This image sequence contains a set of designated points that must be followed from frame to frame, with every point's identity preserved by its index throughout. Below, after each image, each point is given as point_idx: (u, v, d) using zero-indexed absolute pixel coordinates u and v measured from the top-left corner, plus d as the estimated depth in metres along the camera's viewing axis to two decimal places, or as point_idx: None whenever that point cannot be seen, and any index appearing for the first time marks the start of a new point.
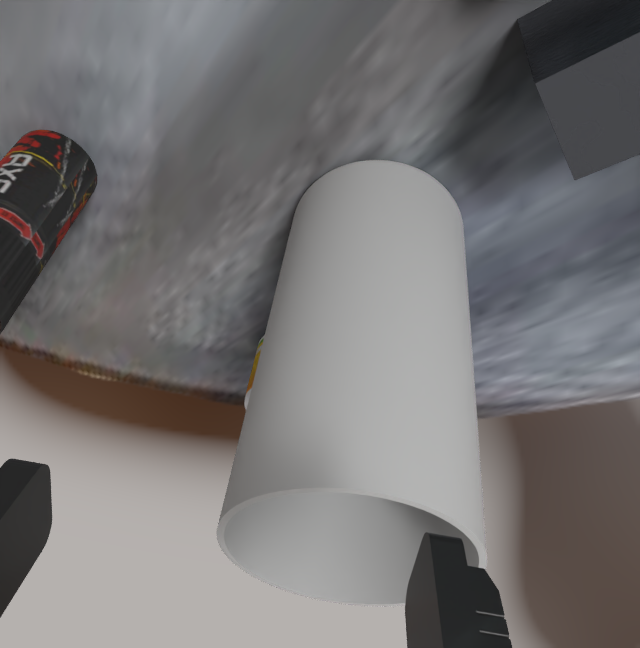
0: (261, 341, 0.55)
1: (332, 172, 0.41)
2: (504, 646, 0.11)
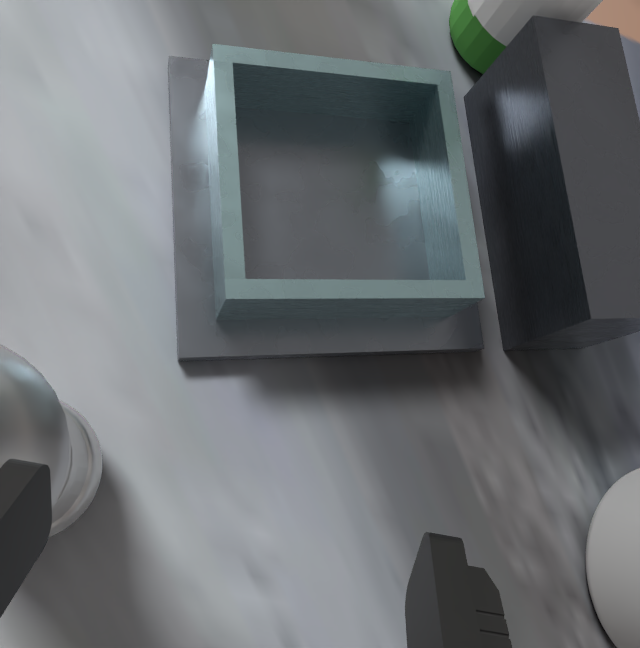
0: None
1: (592, 582, 0.35)
2: (504, 646, 0.11)
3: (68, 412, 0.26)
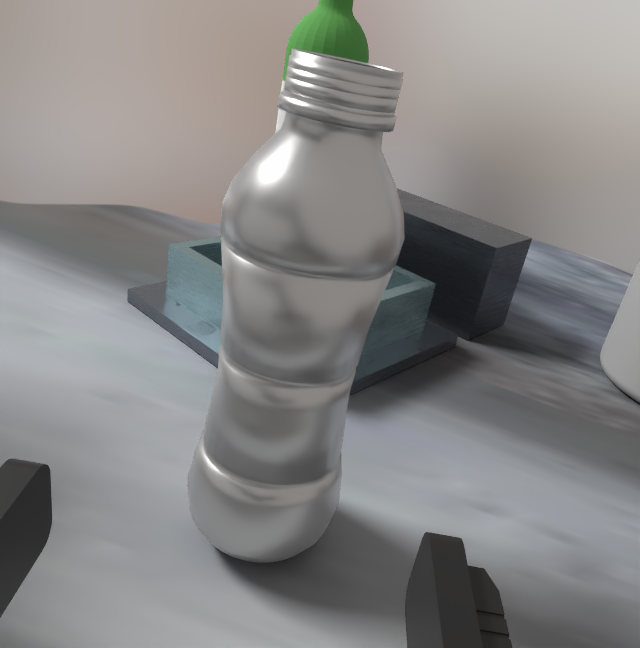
0: None
1: None
2: (504, 646, 0.11)
3: None
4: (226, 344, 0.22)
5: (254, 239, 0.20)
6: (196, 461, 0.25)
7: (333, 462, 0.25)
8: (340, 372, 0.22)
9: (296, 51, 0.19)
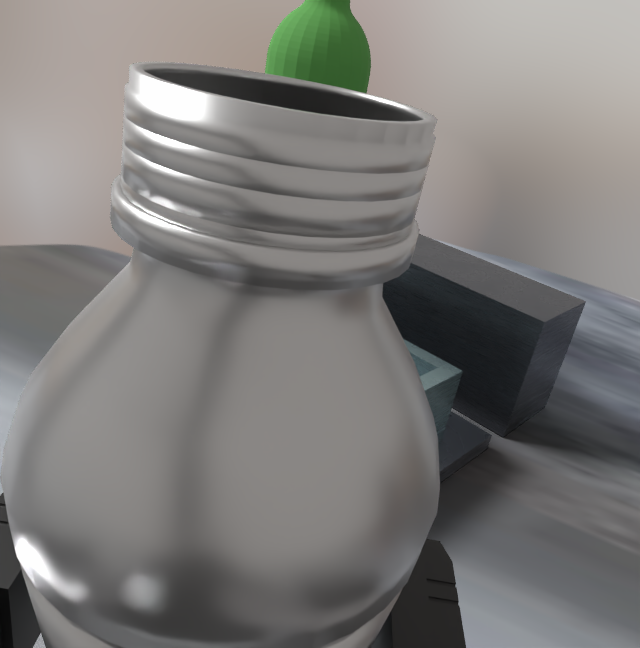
0: None
1: None
2: (453, 612, 0.11)
3: None
4: None
5: (50, 564, 0.07)
6: None
7: None
8: None
9: (132, 72, 0.07)
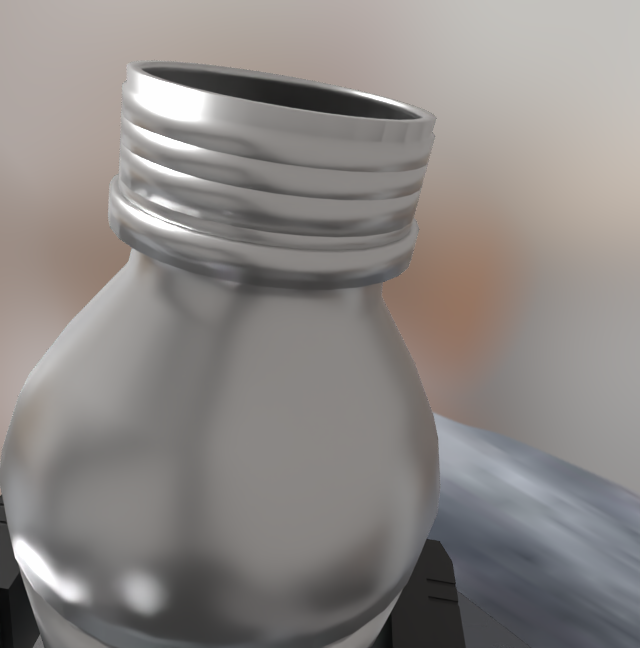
0: None
1: None
2: (453, 612, 0.11)
3: None
4: None
5: (50, 565, 0.07)
6: None
7: None
8: None
9: (129, 71, 0.07)
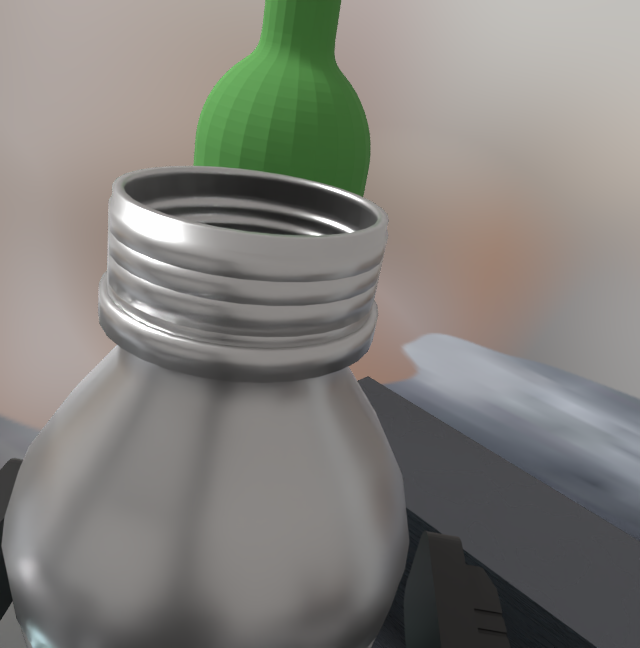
0: None
1: None
2: (502, 645, 0.11)
3: None
4: None
5: (47, 627, 0.08)
6: None
7: None
8: None
9: (114, 192, 0.07)
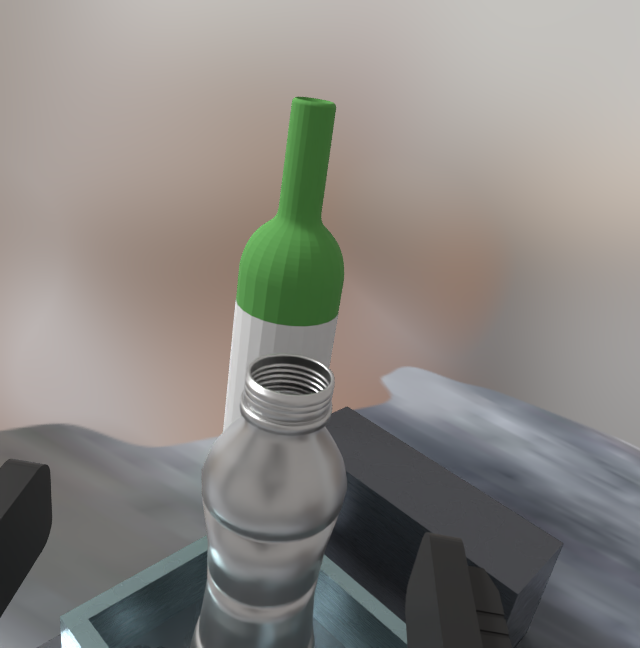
0: None
1: None
2: (504, 646, 0.11)
3: None
4: (210, 570, 0.28)
5: (224, 513, 0.25)
6: (193, 647, 0.31)
7: None
8: (301, 591, 0.28)
9: (249, 377, 0.25)
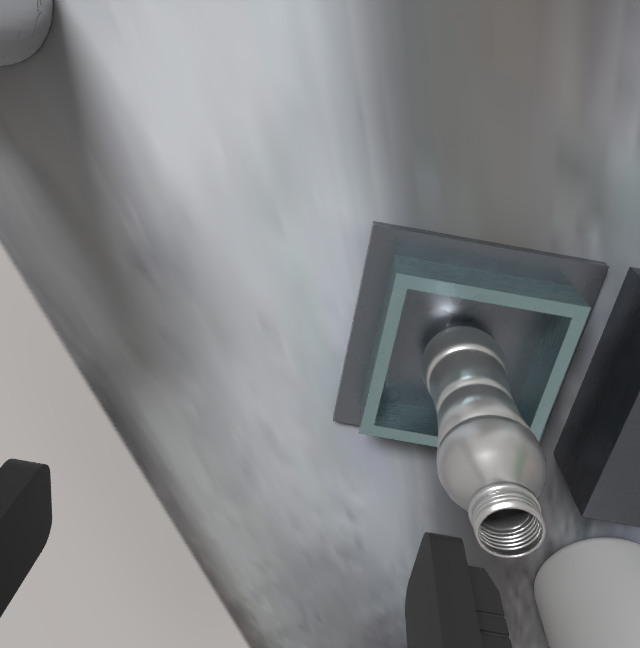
0: None
1: (537, 577, 0.60)
2: (504, 646, 0.11)
3: (503, 364, 0.45)
4: (443, 404, 0.41)
5: (439, 458, 0.37)
6: (434, 354, 0.46)
7: None
8: None
9: (482, 517, 0.32)
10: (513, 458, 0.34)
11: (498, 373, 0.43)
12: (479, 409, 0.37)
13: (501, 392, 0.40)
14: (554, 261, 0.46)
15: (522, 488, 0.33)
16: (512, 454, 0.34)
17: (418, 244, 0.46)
